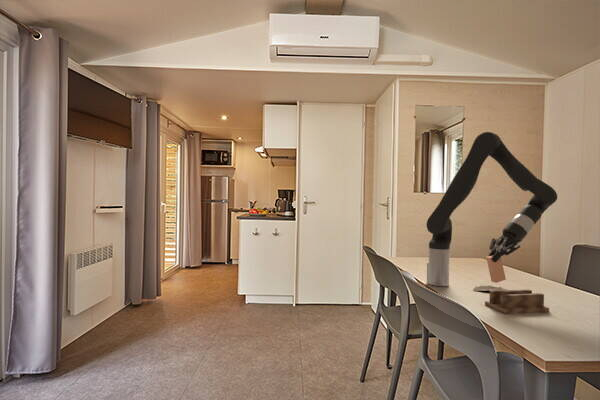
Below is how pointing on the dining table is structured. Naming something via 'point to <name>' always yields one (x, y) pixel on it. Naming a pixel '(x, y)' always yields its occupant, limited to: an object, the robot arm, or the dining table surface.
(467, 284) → the dining table surface
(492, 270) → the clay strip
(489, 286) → the stone fragment
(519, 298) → the walnut rack
